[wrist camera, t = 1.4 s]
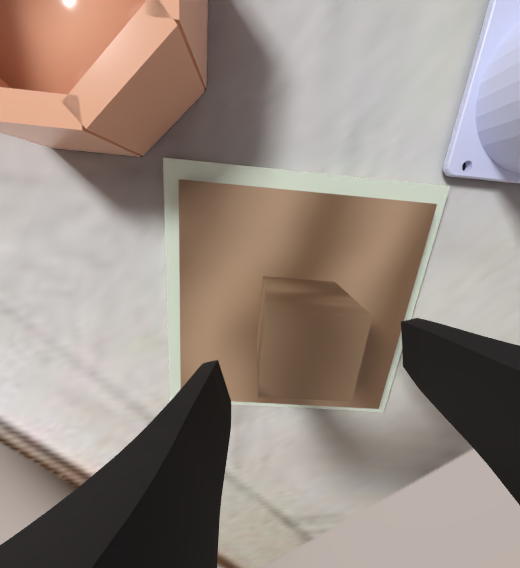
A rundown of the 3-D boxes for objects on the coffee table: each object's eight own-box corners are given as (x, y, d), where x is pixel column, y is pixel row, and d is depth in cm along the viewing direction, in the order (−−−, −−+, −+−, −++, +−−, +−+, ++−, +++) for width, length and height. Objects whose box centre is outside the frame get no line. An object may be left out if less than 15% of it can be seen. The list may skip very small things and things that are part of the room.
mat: (443, 187, 13) (450, 186, 13) (380, 406, 18) (383, 412, 17) (166, 159, 13) (162, 157, 12) (171, 395, 17) (169, 401, 17)
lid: (426, 204, 13) (534, 201, 8) (373, 400, 17) (423, 481, 12) (183, 180, 13) (135, 162, 7) (184, 389, 16) (152, 470, 11)
